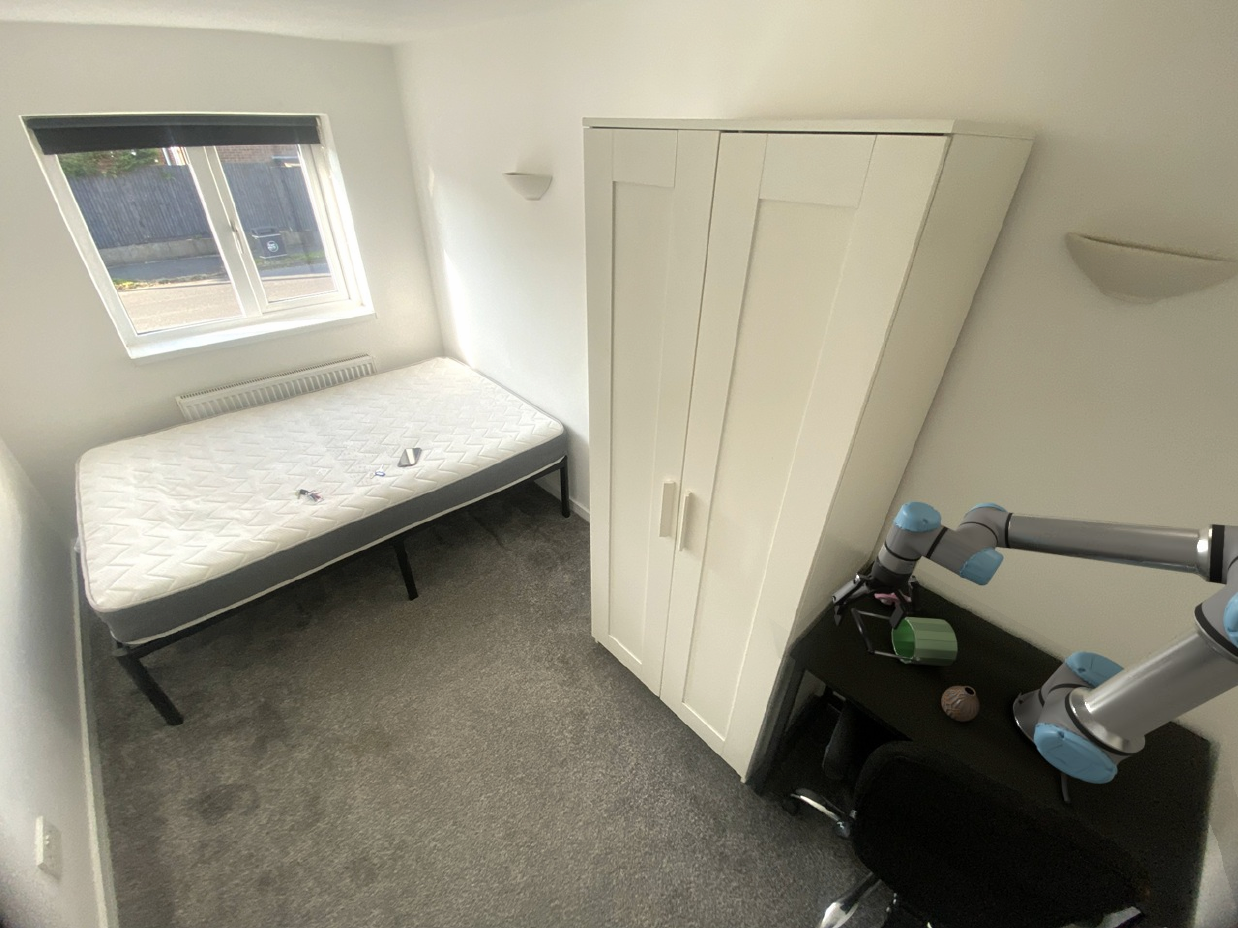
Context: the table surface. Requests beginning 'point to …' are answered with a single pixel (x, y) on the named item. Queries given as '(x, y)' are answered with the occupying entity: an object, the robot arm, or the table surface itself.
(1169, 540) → the robot arm
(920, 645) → the bucket
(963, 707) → the vase
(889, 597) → the video game controller
